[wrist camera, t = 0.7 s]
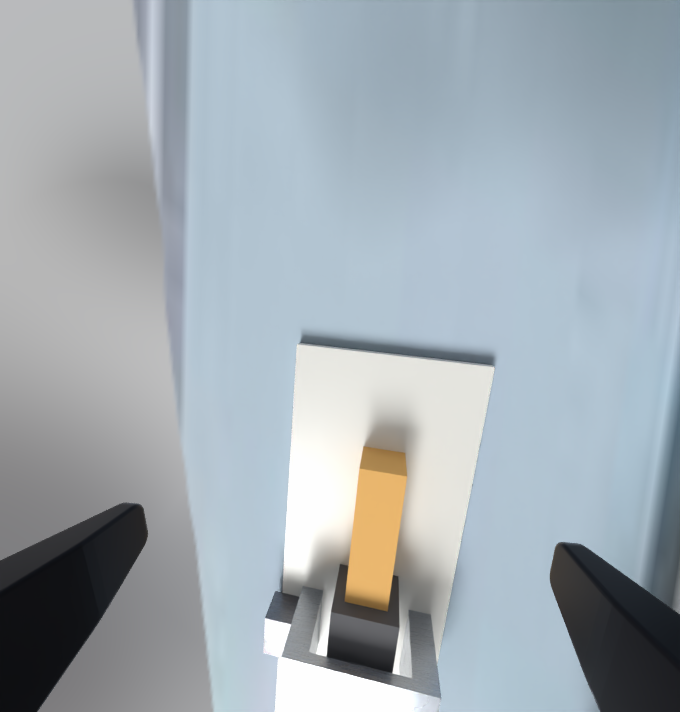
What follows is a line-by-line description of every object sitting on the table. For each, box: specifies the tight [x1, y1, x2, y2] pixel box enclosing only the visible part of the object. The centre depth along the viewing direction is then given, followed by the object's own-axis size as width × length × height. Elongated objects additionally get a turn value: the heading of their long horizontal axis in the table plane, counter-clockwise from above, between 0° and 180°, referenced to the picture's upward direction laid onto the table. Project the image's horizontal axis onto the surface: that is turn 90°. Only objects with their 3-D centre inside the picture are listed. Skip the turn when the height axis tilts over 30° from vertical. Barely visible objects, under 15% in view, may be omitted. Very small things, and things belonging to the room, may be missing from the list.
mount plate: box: [275, 343, 495, 712], centre depth 23 cm, size 12×38×1 cm, turn 175°
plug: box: [326, 446, 407, 673], centre depth 20 cm, size 4×14×3 cm, turn 175°
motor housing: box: [263, 586, 441, 712], centre depth 21 cm, size 11×5×5 cm, turn 85°
